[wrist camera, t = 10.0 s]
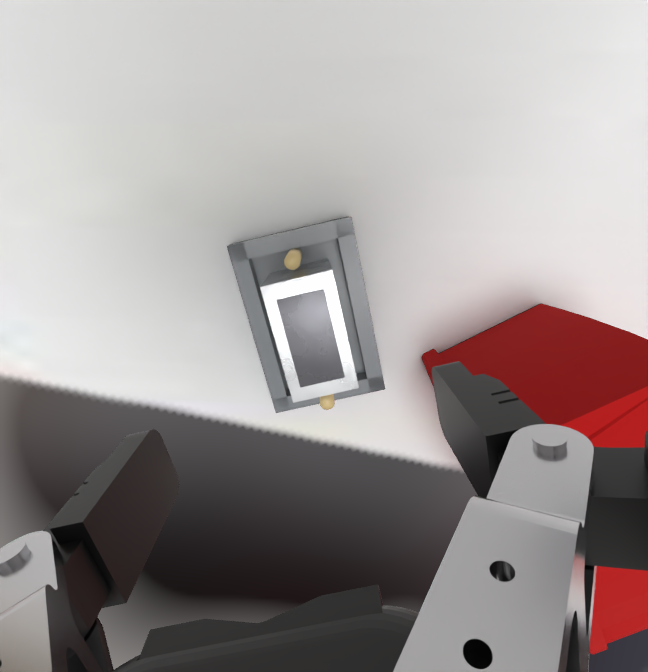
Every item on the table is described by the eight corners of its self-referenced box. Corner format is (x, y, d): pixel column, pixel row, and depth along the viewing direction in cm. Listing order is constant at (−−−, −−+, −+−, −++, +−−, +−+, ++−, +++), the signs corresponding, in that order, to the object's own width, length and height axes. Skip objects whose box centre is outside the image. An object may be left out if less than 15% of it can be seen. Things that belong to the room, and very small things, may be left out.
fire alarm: (415, 357, 33) (495, 468, 19) (537, 297, 32) (722, 366, 18) (484, 498, 38) (591, 674, 23) (593, 450, 36) (777, 605, 22)
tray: (348, 216, 29) (356, 217, 24) (380, 378, 33) (394, 411, 28) (233, 243, 30) (214, 250, 24) (278, 400, 34) (271, 437, 28)
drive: (328, 258, 30) (332, 270, 24) (350, 356, 32) (359, 388, 26) (270, 272, 30) (259, 287, 24) (296, 368, 32) (293, 403, 26)
